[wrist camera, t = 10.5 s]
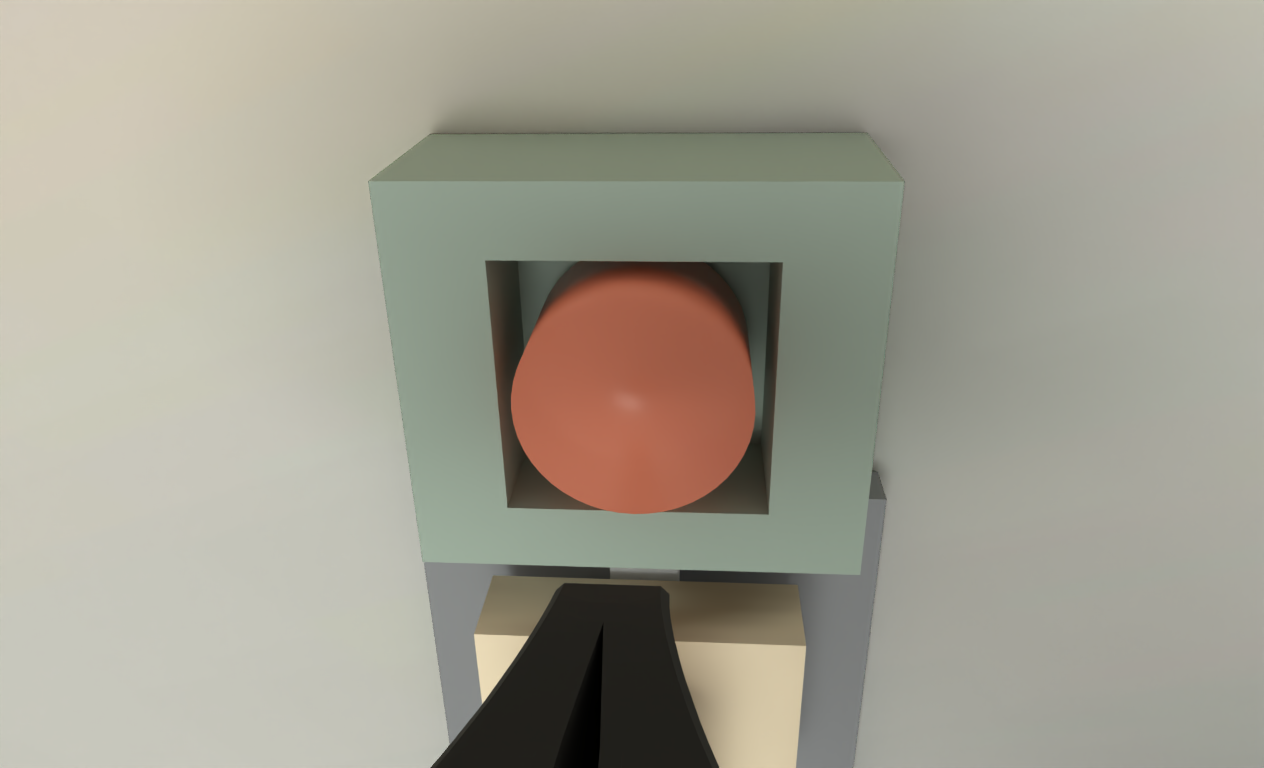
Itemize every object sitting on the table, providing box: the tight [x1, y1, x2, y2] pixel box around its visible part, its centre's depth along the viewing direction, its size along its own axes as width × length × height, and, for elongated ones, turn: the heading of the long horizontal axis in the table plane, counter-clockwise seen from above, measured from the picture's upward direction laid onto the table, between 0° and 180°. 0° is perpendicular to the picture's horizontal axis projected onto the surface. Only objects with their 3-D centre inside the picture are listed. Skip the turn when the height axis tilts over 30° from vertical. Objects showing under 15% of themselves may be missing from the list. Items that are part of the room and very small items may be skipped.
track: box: [424, 472, 886, 768], centre depth 26 cm, size 11×18×2 cm, turn 1°
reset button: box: [511, 261, 755, 514], centre depth 18 cm, size 4×4×3 cm
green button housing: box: [368, 133, 905, 575], centre depth 19 cm, size 9×8×4 cm
